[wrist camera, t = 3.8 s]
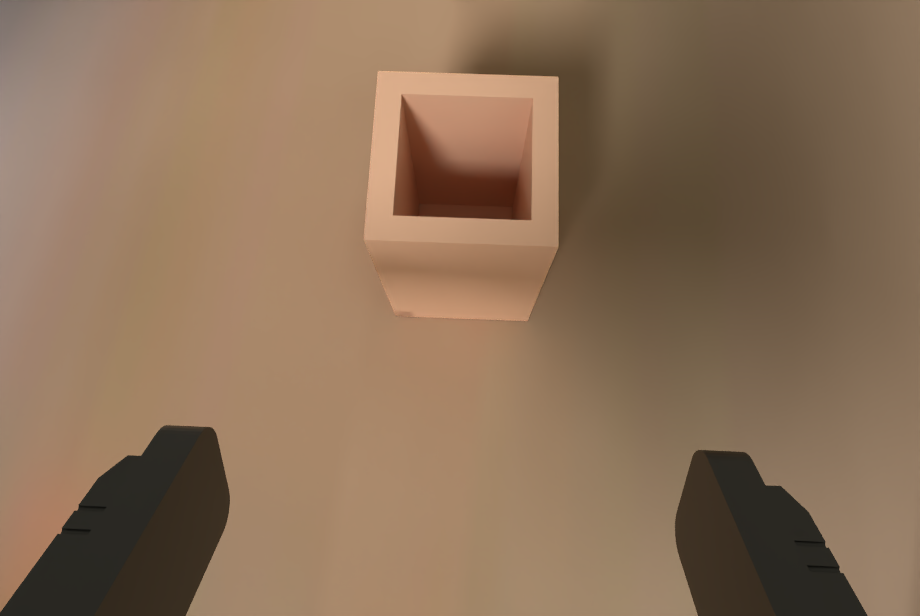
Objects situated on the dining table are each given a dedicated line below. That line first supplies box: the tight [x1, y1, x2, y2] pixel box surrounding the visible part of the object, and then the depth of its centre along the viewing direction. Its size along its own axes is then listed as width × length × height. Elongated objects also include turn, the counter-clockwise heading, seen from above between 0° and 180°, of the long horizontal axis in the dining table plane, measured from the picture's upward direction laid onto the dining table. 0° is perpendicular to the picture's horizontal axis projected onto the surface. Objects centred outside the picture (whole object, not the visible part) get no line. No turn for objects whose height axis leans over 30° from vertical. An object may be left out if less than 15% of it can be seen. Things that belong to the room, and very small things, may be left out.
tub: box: [364, 71, 559, 321], centre depth 21 cm, size 5×5×8 cm
